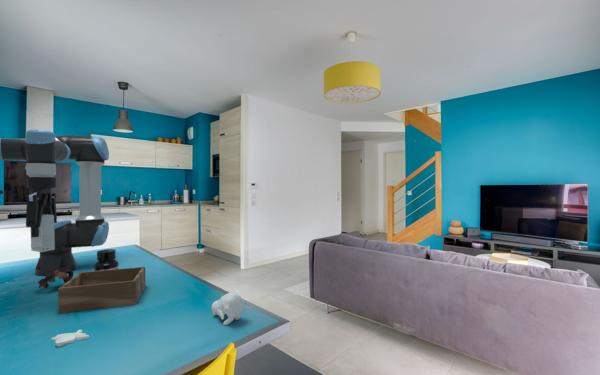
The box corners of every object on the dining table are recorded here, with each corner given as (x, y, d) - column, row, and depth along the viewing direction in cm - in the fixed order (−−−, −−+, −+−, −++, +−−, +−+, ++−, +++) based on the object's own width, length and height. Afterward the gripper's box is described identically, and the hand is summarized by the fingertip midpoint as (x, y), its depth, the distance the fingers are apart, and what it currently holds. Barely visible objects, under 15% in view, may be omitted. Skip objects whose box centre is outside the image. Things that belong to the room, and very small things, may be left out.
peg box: (80, 293, 110) (80, 272, 110) (145, 286, 117) (145, 266, 117) (58, 313, 93) (57, 288, 93) (135, 304, 100) (135, 281, 100)
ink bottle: (103, 282, 122) (103, 254, 121) (88, 280, 125) (87, 252, 124) (124, 275, 131) (123, 249, 131) (109, 273, 134) (109, 247, 134)
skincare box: (55, 249, 100) (54, 214, 99) (40, 252, 96) (39, 216, 96) (46, 248, 102) (45, 214, 102) (30, 250, 98) (29, 215, 98)
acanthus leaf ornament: (89, 340, 79) (89, 333, 79) (57, 352, 73) (57, 344, 73) (81, 331, 83) (81, 324, 83) (50, 341, 78) (50, 334, 78)
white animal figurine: (228, 298, 83) (204, 292, 91) (230, 328, 83) (206, 320, 91) (245, 291, 88) (221, 286, 96) (247, 320, 88) (223, 312, 96)
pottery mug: (61, 294, 111) (46, 277, 109) (42, 303, 112) (28, 287, 110) (85, 276, 122) (72, 260, 120) (68, 285, 124) (55, 269, 122)
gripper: (43, 176, 107) (44, 239, 107) (8, 176, 88) (10, 251, 88) (67, 177, 109) (69, 238, 110) (39, 176, 90) (40, 250, 91)
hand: (42, 244), depth 99 cm, fingers closed on skincare box, 7 cm apart
